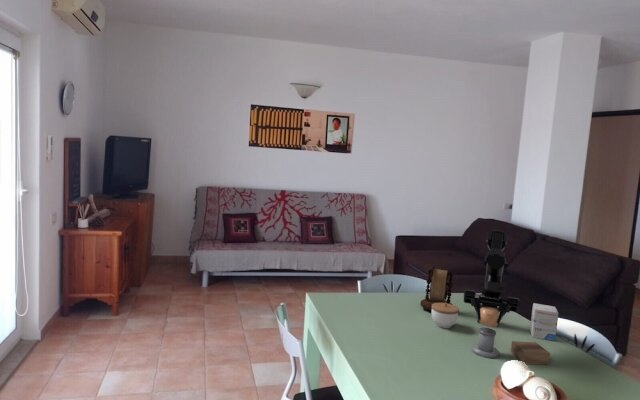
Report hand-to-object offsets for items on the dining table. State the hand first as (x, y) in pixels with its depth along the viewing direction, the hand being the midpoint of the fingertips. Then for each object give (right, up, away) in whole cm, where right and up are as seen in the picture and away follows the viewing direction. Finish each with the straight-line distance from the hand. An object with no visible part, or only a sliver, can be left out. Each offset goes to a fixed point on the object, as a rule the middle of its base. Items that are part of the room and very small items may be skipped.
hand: (488, 321), depth 160 cm
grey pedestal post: (0, -12, +3) cm, 12 cm away
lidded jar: (-9, -9, +26) cm, 29 cm away
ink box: (+30, -12, +23) cm, 40 cm away
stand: (+15, -13, +1) cm, 19 cm away
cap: (0, -1, +1) cm, 2 cm away
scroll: (-7, -7, +45) cm, 46 cm away
